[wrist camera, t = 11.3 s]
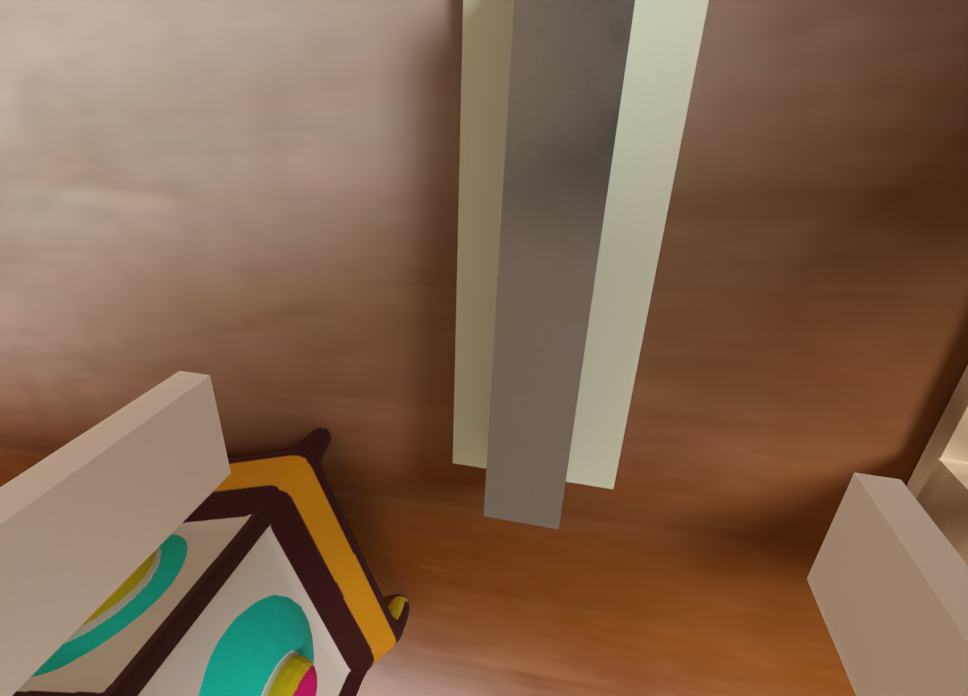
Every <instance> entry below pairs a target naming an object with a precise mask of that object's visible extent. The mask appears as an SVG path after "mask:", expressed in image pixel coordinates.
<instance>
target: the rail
mask: <svg viewBox="0 0 968 696" xmlns="http://www.w3.org/2000/svg"><path fill="white" fill-rule="evenodd" d="M634 6H635V0H514V13H513V30H512V47H511V64H510V81H509V97H508V114H507V131H506V148H505V165H504V181H503V198H502V215H501V232H500V249H499V265H498V282H497V299H496V316H495V333H494V349H493V366H492V383H491V400H490V417H489V433H488V450H487V467H486V484H485V501H484V516H485V517H491V518H497V519H502V520H508V521H513V522H519V523H525V524H530V525H536V526H541V527H547V528H553V529H558V530H559V525H560V518H561V511H562V504H563V497H564V490H565V483H566V476H567V469H568V462H569V455H570V448H571V441H572V435H573V428H574V421H575V414H576V407H577V400H578V393H579V386H580V379H581V372H582V365H583V358H584V352H585V345H586V338H587V331H588V324H589V317H590V310H591V303H592V296H593V289H594V282H595V275H596V268H597V262H598V255H599V248H600V241H601V234H602V227H603V220H604V213H605V206H606V199H607V192H608V185H609V179H610V172H611V165H612V158H613V151H614V144H615V137H616V130H617V123H618V116H619V109H620V102H621V95H622V89H623V82H624V75H625V68H626V61H627V54H628V47H629V40H630V33H631V26H632V19H633V12H634Z"/></svg>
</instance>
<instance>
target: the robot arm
mask: <svg viewBox="0 0 968 696" xmlns="http://www.w3.org/2000/svg"><path fill="white" fill-rule="evenodd" d="M230 474H231V471H230V466H229V462H228V457H227V452H226V447H225V443H224V438H223V433H222V429H221V424H220V419H219V415H218V410H217V405H216V401H215V396H214V391H213V387H212V382H211V377H210V375H205V374H198V373H192V372H185V371H178V372H177V373H175V374H174V375H172V376H171V377H169V378H168V379H166V380H164V381H163V382H161V383H160V384H158V385H157V386H155V387H154V388H152V389H151V390H149V391H148V392H146V393H144V394H143V395H141V396H140V397H138V398H137V399H135V400H134V401H132V402H131V403H129V404H128V405H126V406H124V407H123V408H121V409H120V410H118V411H117V412H115V413H114V414H112V415H111V416H109V417H108V418H106V419H105V420H103V421H101V422H100V423H98V424H97V425H95V426H94V427H92V428H91V429H89V430H88V431H86V432H85V433H83V434H81V435H80V436H78V437H77V438H75V439H74V440H72V441H71V442H69V443H68V444H66V445H65V446H63V447H61V448H60V449H58V450H57V451H55V452H54V453H52V454H51V455H49V456H48V457H46V458H45V459H43V460H41V461H40V462H38V463H37V464H35V465H34V466H32V467H31V468H29V469H28V470H26V471H25V472H23V473H21V474H20V475H18V476H17V477H15V478H14V479H12V480H11V481H9V482H8V483H6V484H5V485H3V486H1V487H0V696H12V695H13V694H14V693H15V692H16V691H17V690H18V689H19V688H20V687H21V686H22V685H23V684H24V683H25V682H26V681H27V680H28V679H29V678H30V677H31V676H32V675H33V674H34V673H35V672H36V671H37V670H38V669H39V668H40V667H41V666H42V665H43V664H44V663H45V662H46V661H47V660H48V659H49V658H50V657H51V656H52V655H53V654H54V653H55V652H56V651H57V650H58V649H59V648H60V647H61V646H62V645H63V644H64V642H65V641H66V640H67V639H68V638H69V637H70V636H71V635H72V634H73V633H74V632H75V631H76V630H77V629H78V628H79V627H80V626H81V625H82V624H83V623H84V622H85V621H86V620H87V619H88V618H89V617H90V616H91V615H92V614H93V613H94V612H95V611H96V610H97V609H98V608H99V607H100V606H101V605H102V604H103V603H104V602H105V601H106V600H107V599H108V598H109V597H110V596H111V595H112V594H113V593H114V592H115V591H116V590H117V589H118V588H119V587H120V586H121V585H122V584H123V583H124V582H125V581H126V579H127V578H128V577H129V576H130V575H131V574H132V573H133V572H134V571H135V570H136V569H137V568H138V567H139V566H140V565H141V564H142V563H143V562H144V561H145V560H146V559H147V558H148V557H149V556H150V555H151V554H152V553H153V552H154V551H155V550H156V549H157V548H158V547H159V546H160V545H161V544H162V543H163V542H164V541H165V540H166V539H167V538H168V537H169V536H170V535H171V534H172V533H173V532H174V531H175V530H176V529H177V528H178V527H179V526H180V525H181V524H182V523H183V522H184V521H185V520H186V519H187V518H188V516H189V515H190V514H191V513H192V512H193V511H194V510H195V509H196V508H197V507H198V506H199V505H200V504H201V503H202V502H203V501H204V500H205V499H206V498H207V497H208V496H209V495H210V494H211V493H212V492H213V491H214V490H215V489H216V488H217V487H218V486H219V485H220V484H221V483H222V482H223V481H224V480H225V479H226V478H227V477H228V476H229V475H230ZM807 580H808V583H809V585H810V588H811V590H812V592H813V595H814V597H815V599H816V602H817V604H818V607H819V609H820V611H821V614H822V616H823V618H824V621H825V623H826V626H827V628H828V630H829V633H830V635H831V637H832V640H833V642H834V644H835V647H836V649H837V652H838V654H839V656H840V659H841V661H842V663H843V666H844V668H845V671H846V673H847V675H848V678H849V680H850V682H851V685H852V687H853V690H854V692H855V694H856V696H968V565H967V564H966V563H965V562H964V560H963V559H962V558H961V556H960V555H959V554H958V553H957V551H956V550H955V549H954V547H953V546H952V545H951V544H950V542H949V541H948V540H947V538H946V537H945V536H944V535H943V533H942V532H941V531H940V529H939V528H938V527H937V525H936V524H935V523H934V522H933V520H932V519H931V518H930V516H929V515H928V514H927V513H926V511H925V510H924V509H923V507H922V506H921V505H920V504H919V502H918V501H917V500H916V498H915V497H914V496H913V495H912V493H911V492H910V491H909V489H908V488H907V487H906V486H905V484H904V483H903V482H902V480H901V479H894V478H888V477H881V476H875V475H868V474H861V473H855V472H854V474H853V477H852V479H851V481H850V483H849V485H848V488H847V490H846V492H845V494H844V497H843V499H842V501H841V503H840V506H839V508H838V510H837V512H836V514H835V517H834V519H833V521H832V523H831V526H830V528H829V530H828V532H827V535H826V537H825V539H824V541H823V544H822V546H821V548H820V550H819V552H818V555H817V557H816V559H815V561H814V564H813V566H812V568H811V570H810V573H809V575H808V577H807Z"/></svg>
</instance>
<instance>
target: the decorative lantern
mask: <svg viewBox="0 0 968 696" xmlns="http://www.w3.org/2000/svg"><path fill="white" fill-rule="evenodd" d="M330 441H331V434H330V432H329V431H328V430H327V429H323V428H320V429H317V430H315V431H313V432H312V433H311V434H310V435H308V436H307V437H306V438H305V439H303V440H302V441H301V442H300V443H299V444H297V445H296V446H293V447H290V448H288V449H285V450H280V451H276V452H269V453H262V454H254V455H247V456H240V457H233V458H228V462H229V466H230V471H231V474H230V475H229V476H228V477H227V478H226V479H225V480H224V481H223V482H222V483H221V484H220V485H219V486H218V487H217V488H216V489H215V490H214V491H213V492H212V493H211V494H210V495H209V496H208V497H207V498H206V499H205V500H204V501H203V502H202V503H201V504H200V505H199V506H198V507H197V508H196V509H195V510H194V511H193V512H192V513H191V514H190V515H189V516H188V518H187V519H186V520H185V521H184V522H183V523H182V524H181V525H180V526H179V527H178V528H177V529H176V530H175V531H174V532H173V533H172V534H171V535H170V536H169V537H168V538H167V539H166V540H165V541H164V542H163V543H162V544H161V545H160V546H159V547H158V548H157V549H156V550H155V551H154V552H153V553H152V554H151V555H150V556H149V557H148V558H147V559H146V560H145V561H144V562H143V563H142V564H141V565H140V566H139V567H138V568H137V569H136V570H135V571H134V572H133V573H132V574H131V575H130V576H129V577H128V578H127V579H126V581H125V582H124V583H123V584H122V585H121V586H120V587H119V588H118V589H117V590H116V591H115V592H114V593H113V594H112V595H111V596H110V597H109V598H108V599H107V600H106V601H105V602H104V603H103V604H102V605H101V606H100V607H99V608H98V609H97V610H96V611H95V612H94V613H93V614H92V615H91V616H90V617H89V618H88V619H87V620H86V621H85V622H84V623H83V624H82V625H81V626H80V627H79V628H78V629H77V630H76V631H75V632H74V633H73V634H72V635H71V636H70V637H69V638H68V639H67V640H66V641H65V642H64V644H63V645H62V646H61V647H60V648H59V649H58V650H57V651H56V652H55V653H54V654H53V655H52V656H51V657H50V658H49V659H48V660H47V661H46V662H45V663H44V664H43V665H42V666H41V667H40V668H39V669H38V670H37V671H36V672H35V673H34V674H33V675H32V676H31V677H30V678H29V679H28V680H27V681H26V682H25V683H24V684H23V685H22V686H21V687H20V688H19V689H18V690H17V691H16V692H15V693H14V694H13V695H12V696H356V695H357V692H358V690H359V687H360V685H361V683H362V680H363V678H364V676H365V674H366V673H367V671H368V670H369V668H370V667H371V666H372V665H373V664H374V663H375V662H376V661H378V660H379V659H380V658H381V657H382V656H383V655H384V654H386V653H387V652H388V651H389V650H390V649H391V648H393V647H394V646H395V645H396V643H397V642H398V640H399V639H400V638H401V636H402V633H403V630H404V627H405V625H406V622H407V618H408V613H409V602H408V600H407V599H406V598H405V597H403V596H396V597H394V598H393V599H392V600H391V601H390V603H389V604H388V605H387V604H386V602H385V600H384V598H383V596H382V594H381V592H380V590H379V588H378V586H377V584H376V581H375V579H374V577H373V575H372V573H371V571H370V569H369V567H368V565H367V563H366V561H365V559H364V557H363V555H362V553H361V550H360V548H359V546H358V544H357V542H356V540H355V538H354V536H353V534H352V532H351V530H350V528H349V526H348V524H347V522H346V519H345V517H344V515H343V513H342V511H341V509H340V507H339V505H338V503H337V501H336V499H335V497H334V495H333V493H332V491H331V488H330V486H329V484H328V482H327V480H326V478H325V475H324V472H323V469H322V460H323V456H324V454H325V452H326V450H327V448H328V446H329V443H330Z"/></svg>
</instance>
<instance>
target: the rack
mask: <svg viewBox="0 0 968 696" xmlns="http://www.w3.org/2000/svg"><path fill="white" fill-rule="evenodd" d="M906 487H907V488H908V489H909V491H910V492H911V493H912V495H913V496H914V497H915V498H916V500H917V501H918V502H919V504H920V505H921V506H922V507H923V509H924V510H925V511H926V513H927V514H928V515H929V516H930V518H931V519H932V520H933V522H934V523H935V524H936V525H937V527H938V528H939V529H940V531H941V532H942V533H943V535H944V536H945V537H946V538H947V540H948V541H949V542H950V544H951V545H952V546H953V547H954V549H955V550H956V551H957V553H958V554H959V555H960V556H961V558H962V559H963V560H964V562H965V563H966V564H967V565H968V365H967V367H966V369H965V371H964V373H963V375H962V377H961V379H960V381H959V383H958V385H957V387H956V388H955V390H954V392H953V394H952V396H951V398H950V400H949V402H948V404H947V406H946V408H945V410H944V412H943V414H942V416H941V418H940V420H939V422H938V424H937V426H936V428H935V430H934V432H933V434H932V436H931V438H930V440H929V442H928V444H927V446H926V448H925V450H924V452H923V454H922V456H921V458H920V460H919V462H918V464H917V465H916V467H915V469H914V471H913V473H912V475H911V477H910V479H909V481H908V483H907V485H906Z"/></svg>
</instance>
